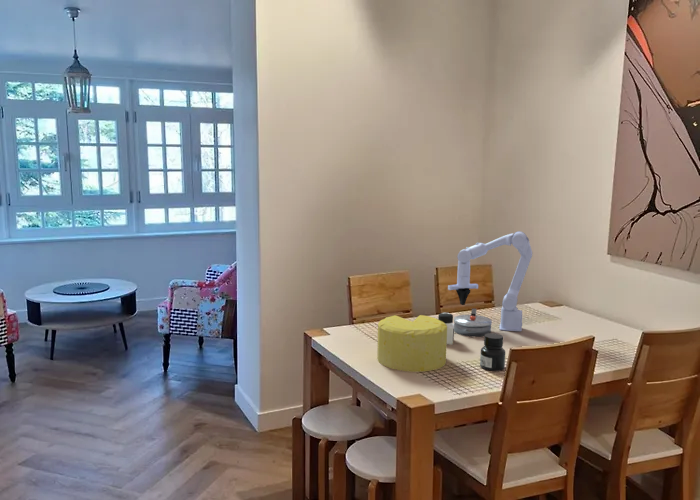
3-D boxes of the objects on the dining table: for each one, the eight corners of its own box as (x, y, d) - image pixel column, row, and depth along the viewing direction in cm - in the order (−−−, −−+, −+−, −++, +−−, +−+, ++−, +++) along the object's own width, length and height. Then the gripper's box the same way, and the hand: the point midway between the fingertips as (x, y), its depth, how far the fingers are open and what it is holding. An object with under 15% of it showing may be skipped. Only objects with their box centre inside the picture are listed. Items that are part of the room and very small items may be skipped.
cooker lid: (491, 328, 256) (491, 322, 256) (452, 325, 260) (452, 319, 260) (492, 315, 278) (492, 309, 277) (456, 312, 281) (456, 307, 281)
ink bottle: (476, 362, 226) (478, 332, 224) (499, 362, 227) (501, 331, 225) (484, 372, 217) (485, 340, 215) (508, 371, 217) (510, 339, 215)
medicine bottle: (453, 344, 248) (454, 316, 246) (435, 343, 249) (436, 315, 247) (453, 339, 254) (454, 312, 253) (436, 338, 256) (437, 311, 254)
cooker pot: (490, 338, 257) (491, 329, 257) (453, 335, 261) (453, 326, 260) (490, 325, 277) (490, 316, 277) (455, 322, 281) (455, 314, 280)
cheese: (402, 344, 247) (403, 309, 245) (458, 358, 231) (460, 321, 228) (363, 360, 227) (364, 322, 225) (421, 377, 211) (423, 336, 208)
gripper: (473, 273, 281) (472, 301, 283) (445, 274, 276) (444, 303, 279) (481, 276, 274) (479, 305, 276) (452, 277, 270) (451, 307, 272)
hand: (462, 304), depth 277 cm, fingers closed
